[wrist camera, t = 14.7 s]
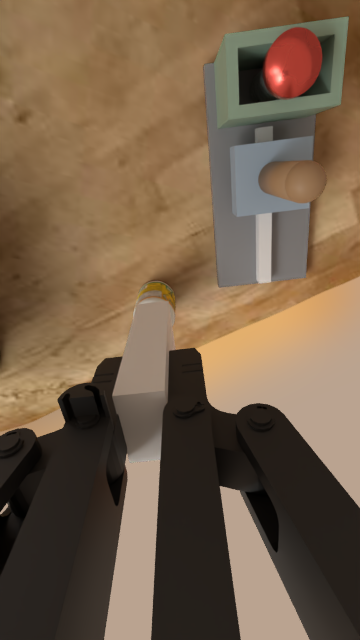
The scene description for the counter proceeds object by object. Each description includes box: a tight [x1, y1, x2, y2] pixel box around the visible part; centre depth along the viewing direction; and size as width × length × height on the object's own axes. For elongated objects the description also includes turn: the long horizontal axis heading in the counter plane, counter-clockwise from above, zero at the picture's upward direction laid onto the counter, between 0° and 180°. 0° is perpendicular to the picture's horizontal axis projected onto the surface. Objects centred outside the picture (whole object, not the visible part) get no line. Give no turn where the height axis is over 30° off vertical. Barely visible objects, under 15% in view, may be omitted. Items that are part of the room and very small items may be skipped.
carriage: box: [230, 136, 326, 217], centre depth 31 cm, size 8×7×15 cm
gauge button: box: [250, 27, 322, 103], centre depth 29 cm, size 4×4×9 cm
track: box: [203, 16, 349, 288], centre depth 35 cm, size 12×25×10 cm, turn 7°
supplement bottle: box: [133, 281, 175, 326], centre depth 42 cm, size 5×5×10 cm
